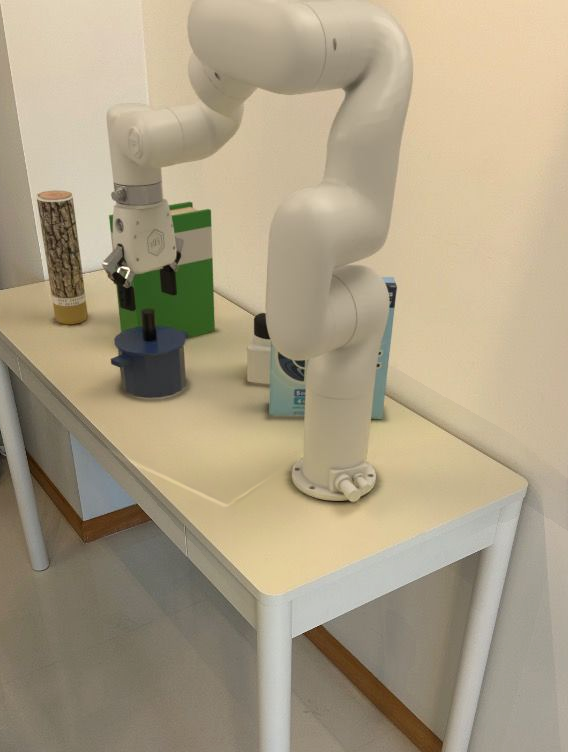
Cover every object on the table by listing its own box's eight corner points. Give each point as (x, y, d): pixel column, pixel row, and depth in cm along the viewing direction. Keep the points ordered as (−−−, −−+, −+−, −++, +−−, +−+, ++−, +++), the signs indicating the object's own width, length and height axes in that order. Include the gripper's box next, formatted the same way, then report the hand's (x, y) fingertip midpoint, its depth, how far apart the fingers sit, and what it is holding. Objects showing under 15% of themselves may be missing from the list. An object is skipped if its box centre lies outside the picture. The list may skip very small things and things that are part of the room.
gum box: (269, 418, 136) (270, 284, 123) (269, 404, 140) (271, 273, 127) (383, 420, 136) (397, 286, 123) (380, 406, 140) (394, 275, 127)
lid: (200, 343, 142) (199, 309, 138) (150, 365, 134) (147, 330, 130) (150, 325, 148) (148, 293, 144) (99, 346, 140) (95, 312, 136)
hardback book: (195, 320, 171) (189, 201, 157) (214, 331, 166) (210, 209, 152) (121, 338, 162) (108, 215, 148) (140, 351, 158) (128, 224, 143)
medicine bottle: (285, 388, 146) (286, 324, 138) (246, 384, 147) (246, 320, 139) (292, 371, 151) (294, 309, 144) (255, 368, 152) (255, 306, 145)
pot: (208, 379, 148) (207, 335, 143) (143, 412, 137) (138, 366, 132) (164, 362, 154) (161, 320, 148) (97, 393, 143) (92, 347, 138)
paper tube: (94, 318, 171) (79, 193, 156) (72, 328, 166) (54, 201, 152) (71, 311, 174) (54, 188, 159) (48, 321, 169) (28, 195, 155)
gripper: (114, 207, 118) (127, 320, 128) (194, 187, 129) (200, 292, 139) (80, 200, 122) (95, 310, 132) (160, 180, 133) (169, 283, 143)
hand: (149, 301), depth 136 cm, fingers open, 9 cm apart
